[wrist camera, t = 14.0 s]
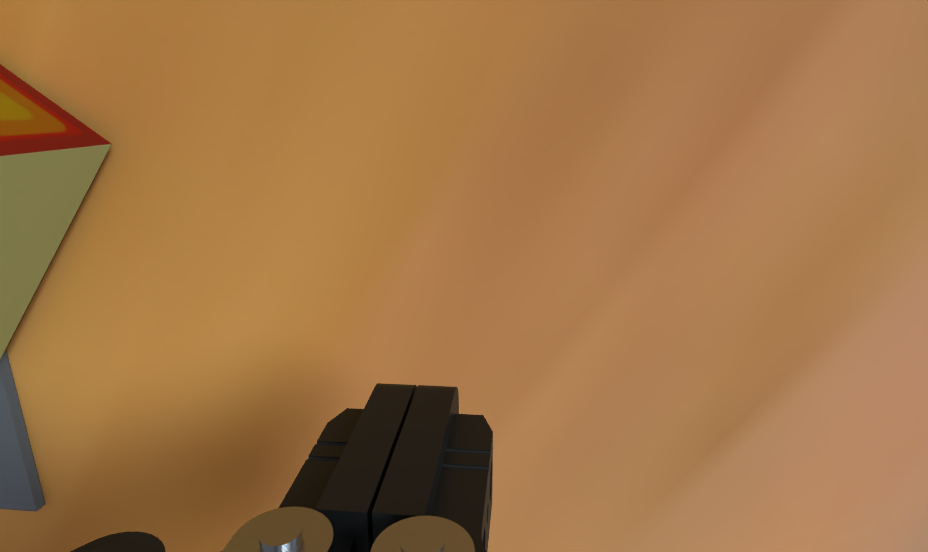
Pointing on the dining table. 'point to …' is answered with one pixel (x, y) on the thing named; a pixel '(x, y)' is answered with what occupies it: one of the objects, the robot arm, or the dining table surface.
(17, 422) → the bookend
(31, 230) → the baking soda box
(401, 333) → the dining table surface
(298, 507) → the robot arm
